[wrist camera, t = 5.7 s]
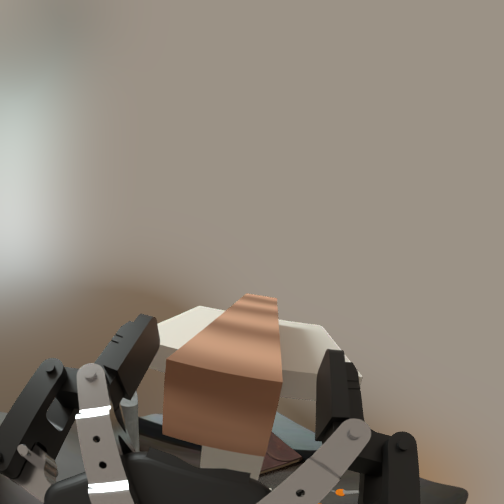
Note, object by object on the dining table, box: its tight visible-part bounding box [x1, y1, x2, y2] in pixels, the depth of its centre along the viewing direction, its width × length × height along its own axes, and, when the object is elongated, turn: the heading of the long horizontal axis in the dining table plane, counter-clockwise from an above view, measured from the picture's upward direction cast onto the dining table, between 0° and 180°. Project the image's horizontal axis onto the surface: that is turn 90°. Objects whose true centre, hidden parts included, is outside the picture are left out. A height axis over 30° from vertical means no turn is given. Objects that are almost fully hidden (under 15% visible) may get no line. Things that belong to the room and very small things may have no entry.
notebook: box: [260, 432, 302, 474], centre depth 47 cm, size 15×20×2 cm
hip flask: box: [120, 391, 140, 452], centre depth 35 cm, size 16×4×20 cm, turn 35°
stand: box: [149, 306, 362, 490], centre depth 24 cm, size 18×16×32 cm
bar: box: [163, 294, 283, 457], centre depth 19 cm, size 24×4×3 cm, turn 175°
